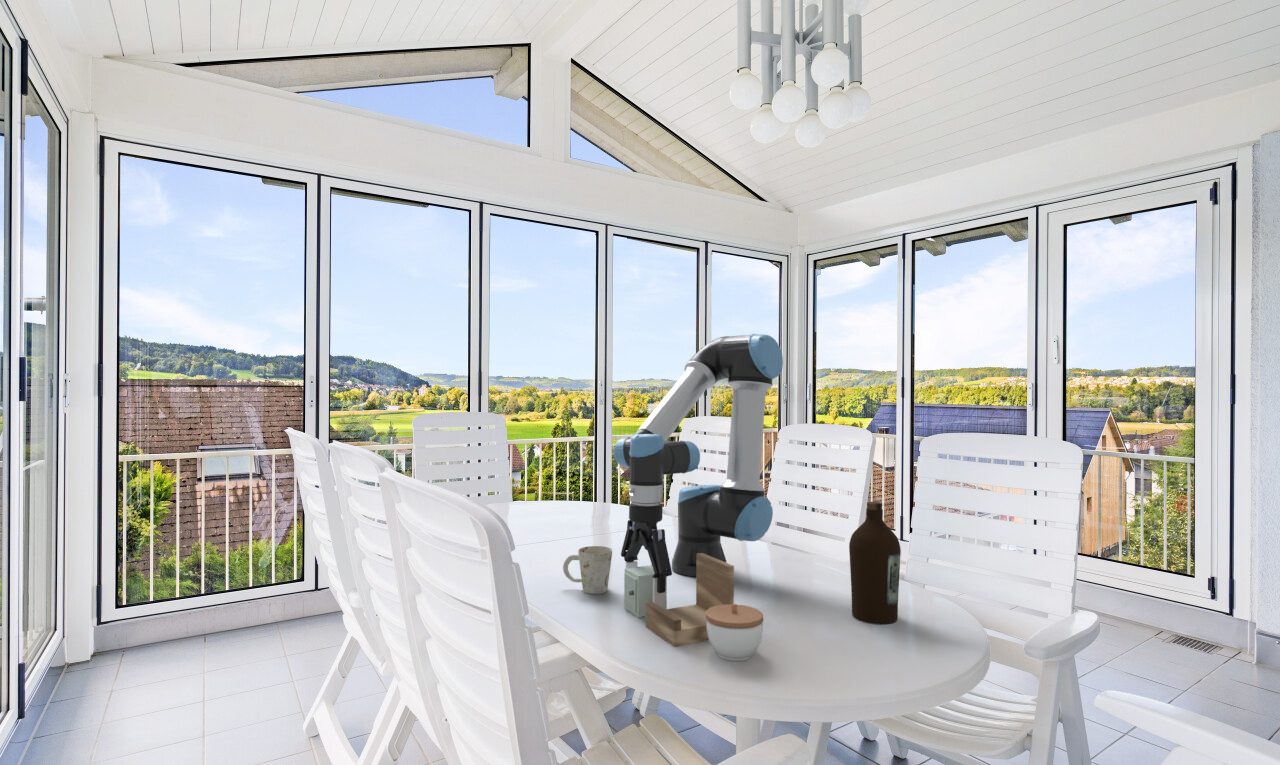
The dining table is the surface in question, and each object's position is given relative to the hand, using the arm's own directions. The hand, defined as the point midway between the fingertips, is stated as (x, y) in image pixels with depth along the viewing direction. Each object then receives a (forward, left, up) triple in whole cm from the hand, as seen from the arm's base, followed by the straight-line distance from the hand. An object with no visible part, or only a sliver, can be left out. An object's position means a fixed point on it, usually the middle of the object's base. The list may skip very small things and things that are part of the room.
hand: (644, 598), depth 150 cm
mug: (+6, -20, -3) cm, 21 cm away
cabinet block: (0, 0, -3) cm, 3 cm away
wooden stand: (-2, +15, -3) cm, 16 cm away
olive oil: (-43, +26, -3) cm, 51 cm away
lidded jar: (-4, +29, -3) cm, 30 cm away
